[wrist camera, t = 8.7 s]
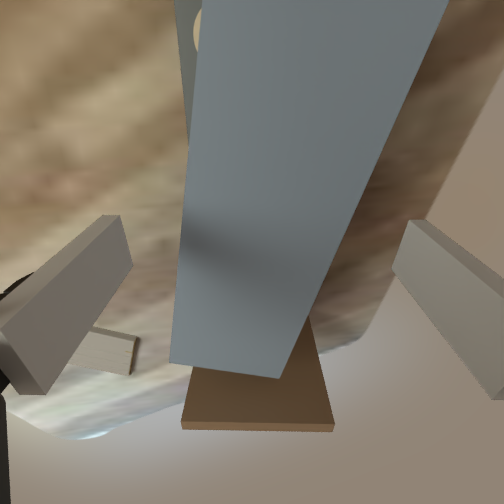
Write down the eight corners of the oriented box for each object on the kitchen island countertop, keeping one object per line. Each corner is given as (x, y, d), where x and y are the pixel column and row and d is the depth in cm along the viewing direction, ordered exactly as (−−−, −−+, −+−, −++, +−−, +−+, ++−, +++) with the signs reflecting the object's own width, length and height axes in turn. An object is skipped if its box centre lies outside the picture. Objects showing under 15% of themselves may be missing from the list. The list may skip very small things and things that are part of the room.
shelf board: (182, 320, 25) (169, 362, 21) (231, -98, 12) (220, -195, 8) (275, 335, 26) (279, 378, 22) (418, -36, 12) (492, -95, 9)
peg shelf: (207, 313, 32) (182, 429, 21) (166, -115, 15) (-83, -706, 4) (305, 315, 32) (332, 432, 21) (374, -111, 15) (712, -693, 4)
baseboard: (130, 376, 40) (138, 332, 35) (122, 394, 37) (129, 350, 33) (-101, 328, 35) (-129, 270, 30) (-128, 346, 32) (-163, 285, 28)
